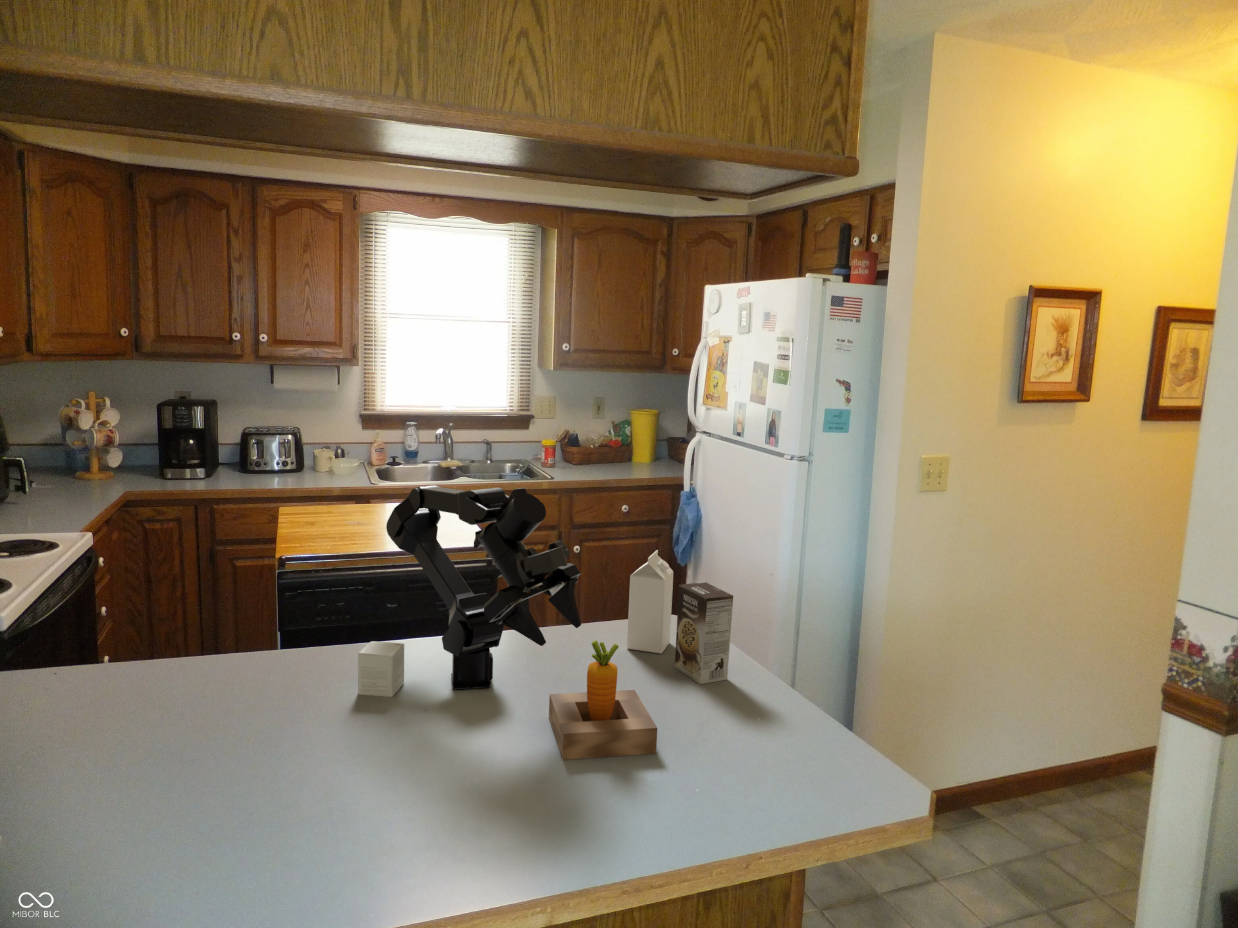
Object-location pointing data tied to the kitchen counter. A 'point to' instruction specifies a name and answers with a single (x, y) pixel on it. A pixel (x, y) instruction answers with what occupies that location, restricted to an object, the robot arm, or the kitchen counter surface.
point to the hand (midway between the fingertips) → (562, 635)
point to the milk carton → (650, 606)
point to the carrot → (601, 683)
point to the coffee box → (703, 632)
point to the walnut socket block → (601, 727)
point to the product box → (380, 669)
